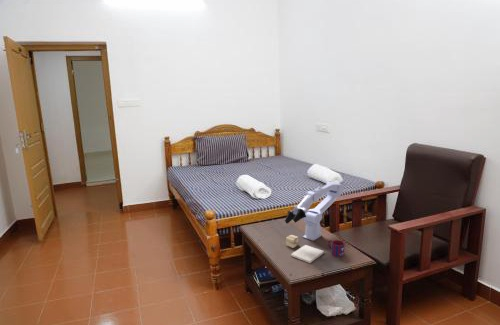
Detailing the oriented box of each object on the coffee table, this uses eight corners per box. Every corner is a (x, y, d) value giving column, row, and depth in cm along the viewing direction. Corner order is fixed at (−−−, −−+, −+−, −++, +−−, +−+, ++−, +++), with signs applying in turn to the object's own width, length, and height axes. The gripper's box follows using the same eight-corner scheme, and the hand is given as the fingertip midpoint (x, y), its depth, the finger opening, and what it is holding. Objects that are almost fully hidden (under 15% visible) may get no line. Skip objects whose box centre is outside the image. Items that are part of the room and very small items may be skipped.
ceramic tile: (305, 246, 193) (305, 244, 193) (323, 253, 185) (323, 251, 185) (291, 256, 183) (291, 254, 183) (309, 263, 175) (309, 261, 175)
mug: (337, 258, 179) (338, 246, 177) (324, 251, 187) (324, 239, 186) (346, 255, 182) (347, 243, 181) (333, 247, 191) (333, 236, 189)
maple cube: (291, 242, 199) (291, 234, 198) (298, 244, 196) (298, 236, 195) (286, 245, 196) (286, 237, 194) (293, 248, 192) (293, 240, 191)
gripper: (292, 202, 200) (278, 217, 193) (307, 199, 188) (293, 214, 181) (298, 211, 201) (285, 226, 194) (314, 208, 189) (301, 225, 182)
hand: (290, 221), depth 188 cm, fingers open, 7 cm apart
